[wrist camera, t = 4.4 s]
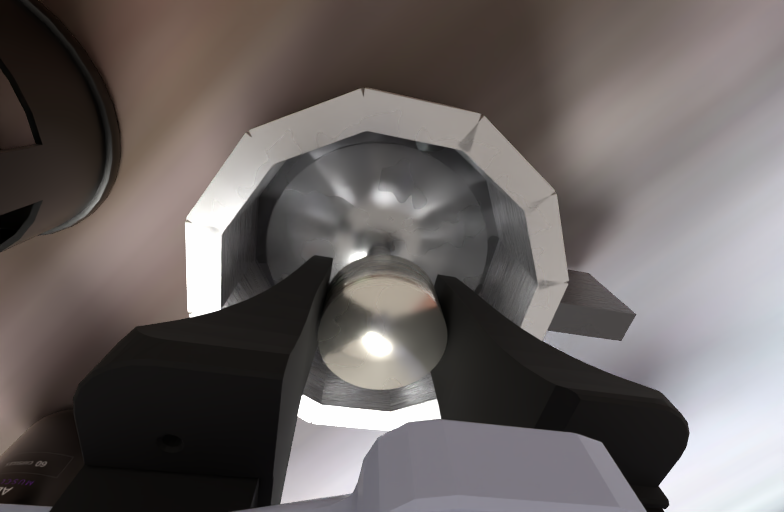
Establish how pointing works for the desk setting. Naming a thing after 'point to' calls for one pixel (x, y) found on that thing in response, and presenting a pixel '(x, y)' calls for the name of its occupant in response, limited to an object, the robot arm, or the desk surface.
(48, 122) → the french press
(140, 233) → the desk surface
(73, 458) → the supplement bottle
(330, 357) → the plunger
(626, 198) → the desk surface
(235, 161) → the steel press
